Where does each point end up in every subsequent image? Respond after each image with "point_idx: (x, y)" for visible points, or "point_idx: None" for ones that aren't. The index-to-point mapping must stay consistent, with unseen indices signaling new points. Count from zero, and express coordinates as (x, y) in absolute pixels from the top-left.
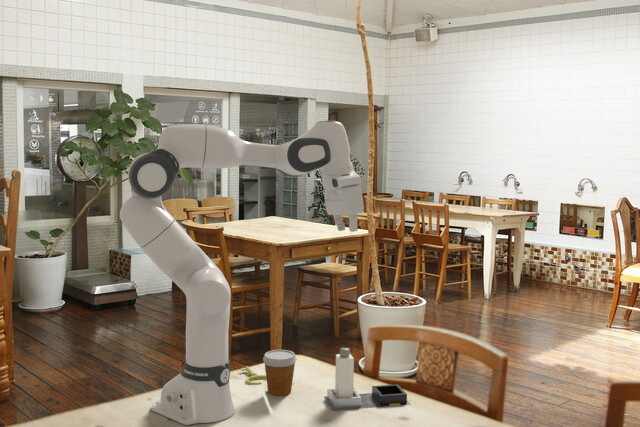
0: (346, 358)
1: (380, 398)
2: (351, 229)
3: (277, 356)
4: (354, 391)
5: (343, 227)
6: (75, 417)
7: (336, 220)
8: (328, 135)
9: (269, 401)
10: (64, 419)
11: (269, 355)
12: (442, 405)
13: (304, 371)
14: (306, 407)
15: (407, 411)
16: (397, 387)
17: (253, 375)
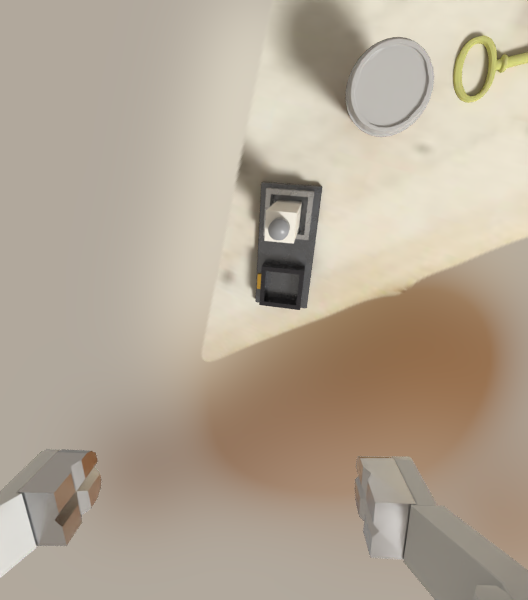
0: (266, 225)
1: (262, 265)
2: (33, 460)
3: (385, 79)
4: None
5: (364, 509)
6: None
7: (470, 565)
8: None
9: None
10: None
11: (402, 56)
12: (254, 339)
13: (478, 194)
14: (301, 145)
15: (246, 291)
16: (288, 304)
17: (501, 59)
